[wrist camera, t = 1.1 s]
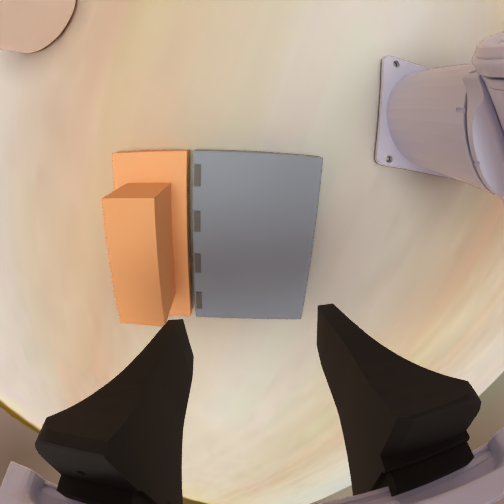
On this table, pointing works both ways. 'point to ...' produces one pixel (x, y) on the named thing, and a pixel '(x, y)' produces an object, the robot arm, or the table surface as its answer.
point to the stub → (149, 235)
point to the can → (32, 23)
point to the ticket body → (253, 232)
